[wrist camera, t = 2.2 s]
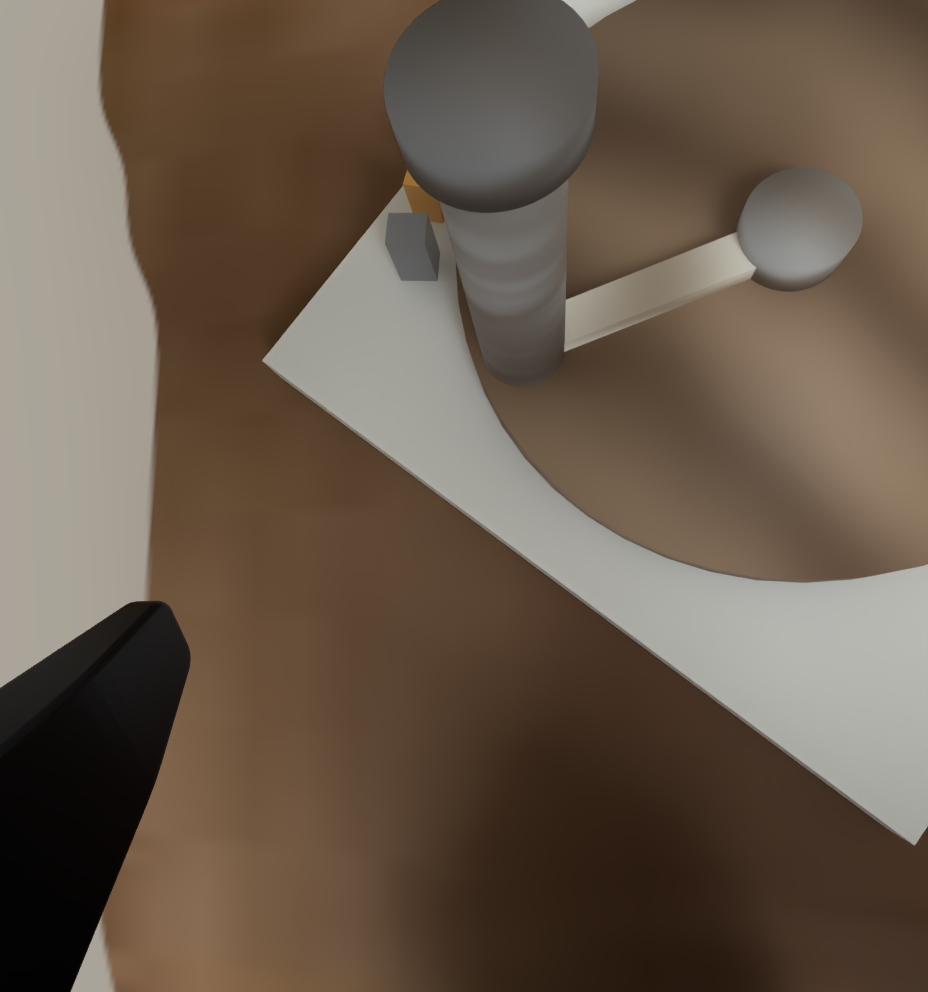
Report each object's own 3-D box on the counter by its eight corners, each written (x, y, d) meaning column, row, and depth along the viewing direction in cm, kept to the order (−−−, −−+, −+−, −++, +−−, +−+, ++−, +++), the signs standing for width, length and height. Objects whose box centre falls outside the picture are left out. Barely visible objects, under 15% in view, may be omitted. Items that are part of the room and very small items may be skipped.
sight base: (887, 829, 19) (964, 875, 15) (279, 377, 24) (230, 331, 20) (1317, 192, 20) (1479, 98, 17) (664, -103, 26) (681, -223, 22)
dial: (889, 730, 18) (1413, 888, 7) (343, 343, 22) (131, 60, 11) (1270, 174, 19) (2206, -427, 8) (687, -90, 23) (799, -719, 12)
